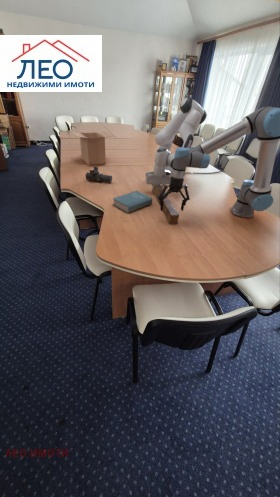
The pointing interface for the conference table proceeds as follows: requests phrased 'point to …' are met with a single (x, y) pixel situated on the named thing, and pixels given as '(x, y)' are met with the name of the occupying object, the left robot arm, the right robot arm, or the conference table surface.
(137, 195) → the book
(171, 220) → the bar
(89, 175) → the laser sight
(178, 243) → the conference table surface
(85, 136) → the box
